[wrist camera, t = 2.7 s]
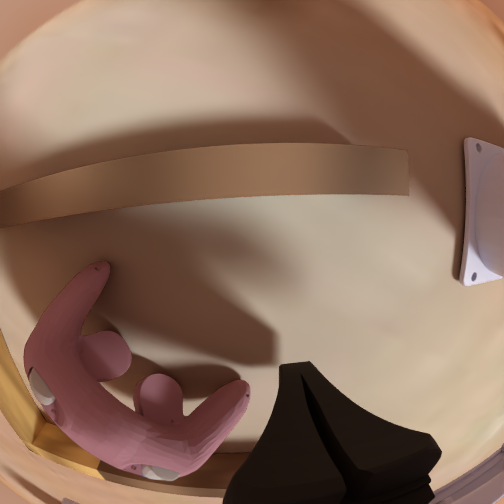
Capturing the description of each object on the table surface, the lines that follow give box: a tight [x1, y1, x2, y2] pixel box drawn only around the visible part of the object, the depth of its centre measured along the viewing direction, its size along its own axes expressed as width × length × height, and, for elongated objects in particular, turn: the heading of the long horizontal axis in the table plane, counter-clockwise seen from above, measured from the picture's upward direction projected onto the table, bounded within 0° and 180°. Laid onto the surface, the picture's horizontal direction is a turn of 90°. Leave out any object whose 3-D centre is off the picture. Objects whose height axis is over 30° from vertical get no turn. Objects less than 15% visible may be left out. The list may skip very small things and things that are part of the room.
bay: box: [0, 143, 409, 498], centre depth 11 cm, size 24×18×3 cm
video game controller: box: [24, 261, 250, 481], centre depth 10 cm, size 10×5×7 cm, turn 45°
